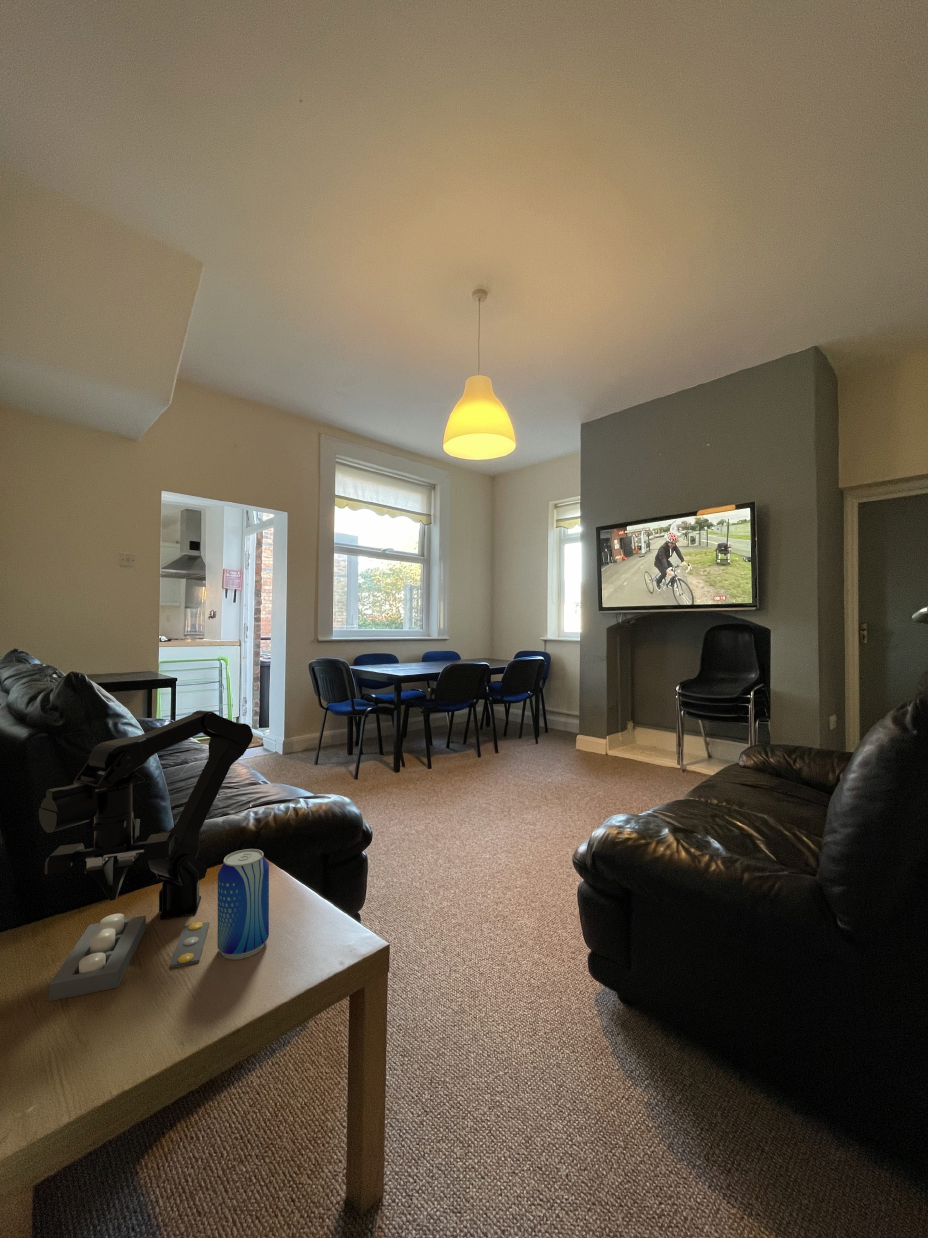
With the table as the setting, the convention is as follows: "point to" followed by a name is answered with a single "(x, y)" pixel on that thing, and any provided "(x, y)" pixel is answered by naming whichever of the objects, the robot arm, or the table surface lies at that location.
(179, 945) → the pattern tile
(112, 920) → the button
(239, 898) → the beer can
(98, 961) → the button
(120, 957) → the button board
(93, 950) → the button mid
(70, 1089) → the table surface
